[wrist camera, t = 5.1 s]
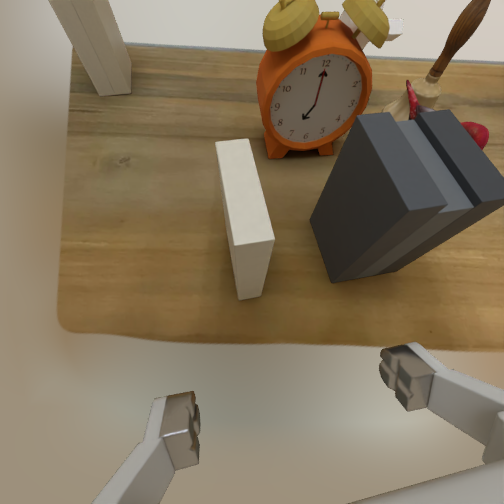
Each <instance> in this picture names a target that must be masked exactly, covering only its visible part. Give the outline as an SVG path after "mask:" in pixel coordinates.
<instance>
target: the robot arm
mask: <svg viewBox="0 0 504 504" xmlns="http://www.w3.org/2000/svg"><path fill="white" fill-rule="evenodd" d="M380 356H381V358H382V359H383V360H382V361H381V363H380V365H379V371H380V374H381V378H382V379H383V381H384V383H385V384H386V385H387V387H388V388H390V389H392V390H394V391H395V396H396V398H397V399H398V401H399V402H400V403H401V404H402V406H403V407H404V408H405V409H406V411H413V410H418V409H422V408H426V407H428V408H427V409H429V410H430V411H432V412H433V413H435V414H436V415H438V416H440V417H441V418H443V419H444V420H446V421H447V422H449V423H451V424H452V425H454V426H455V427H457V428H458V429H460V430H461V431H463V432H464V433H466V434H468V435H469V436H471V437H472V438H474V439H476V440H477V441H479V442H480V443H482V444H483V445H485V446H486V447H485V450H484V453H483V456H482V459H483V462H484V463H485V465H481V466H478V467H474V468H471V469H467V470H464V471H460V472H457V473H453V474H450V475H446V476H443V477H439V478H436V479H432V480H429V481H425V482H422V483H418V484H415V485H411V486H408V487H404V488H401V489H398V490H394V491H390V492H387V493H383V494H380V495H376V496H373V497H369V498H366V499H362V500H359V501H355V502H352V503H348V504H504V390H503V389H500V388H498V387H495V386H493V385H490V384H488V383H485V382H483V381H480V380H478V379H475V378H473V377H470V376H468V375H466V374H463V373H461V372H458V371H456V370H454V369H451V370H449V369H448V368H447V367H445V366H444V365H443V364H442V363H441V362H440V361H438V360H437V359H436V358H435V357H434V356H433V355H431V354H430V353H429V352H428V351H427V350H426V349H424V348H423V347H422V346H421V345H420V344H418V343H416V342H412V343H407V344H404V345H398V346H394V347H389V348H385V349H382V350H381V353H380ZM195 399H196V397H195V394H194V391H190V392H185V393H180V394H174V395H169V396H165V397H159V398H155V399H154V401H153V403H152V406H151V410H150V414H149V418H148V422H147V426H146V431H145V434H144V438H143V442H141V443H138V444H137V446H136V447H135V448H134V450H133V451H132V452H131V453H130V455H129V456H128V457H127V459H126V460H125V461H124V462H123V464H122V465H121V466H120V467H119V469H118V470H117V471H116V473H115V474H114V475H113V476H112V478H111V479H110V480H109V481H108V483H107V484H106V485H105V487H104V488H103V489H102V490H101V492H100V493H99V494H98V496H97V497H96V498H95V499H94V501H93V502H92V503H91V504H159V503H160V501H161V499H162V497H163V495H164V494H165V491H166V490H167V488H168V485H169V484H170V482H171V480H172V478H173V476H174V474H175V471H176V470H179V469H183V468H186V467H190V466H193V465H197V464H199V446H200V444H199V441H198V437H197V436H198V435H199V433H200V413H199V408H198V405H197V404H195Z"/></svg>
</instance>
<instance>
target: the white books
mask: <svg viewBox="0 0 504 504" xmlns="http://www.w3.org/2000/svg"><path fill="white" fill-rule="evenodd" d="M49 2H50V4H51V6H52V8H53V10H54V11H55V13H56V15H57V17H58V19H59V21H60V23H61V25H62V26H63V28H64V30H65V32H66V34H67V36H68V38H69V39H70V41H71V43H72V45H73V47H74V49H75V51H76V53H77V55H78V56H79V58H80V60H81V62H82V64H83V66H84V68H85V70H86V71H87V73H88V75H89V77H90V79H91V81H92V83H93V84H94V86H95V88H96V90H97V92H98V94H99V96H109V95H119V94H131V68H132V63H131V60H130V58H129V55H128V52H127V50H126V47H125V44H124V42H123V39H122V37H121V34H120V31H119V28H118V25H117V23H116V20H115V17H114V15H113V12H112V9H111V7H110V4H109V1H108V0H49Z"/></svg>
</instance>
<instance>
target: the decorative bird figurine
mask: <svg viewBox="0 0 504 504" xmlns="http://www.w3.org/2000/svg"><path fill="white" fill-rule="evenodd" d="M406 86H407V93H408V99H409V105H410V113H409V119H408V120H414V119H415V118H416V116H417V115H418V113H421V112H430V111H435V110H433V109H431V108H428V107H425V106H421V105H420V104H419V103H418V100H417V98H416V95H415V93H414V91H413V89H412V87H411V84H410V82H409V80H407V81H406ZM461 125H462V126H463V127H464V128H465V130H466V131H467V132H468V133H469V135H470V136H471V137H472V138H473V140H474V141H475V142H476V143H477V145H478V146H479V147H480V149H481V150H482V149H483V148H484V147H485V145H486V144H487V142H488V139H489V131H488V129H487V128H486V127H485V126H483V125H480V124H477V123H474V122H462V123H461Z"/></svg>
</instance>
